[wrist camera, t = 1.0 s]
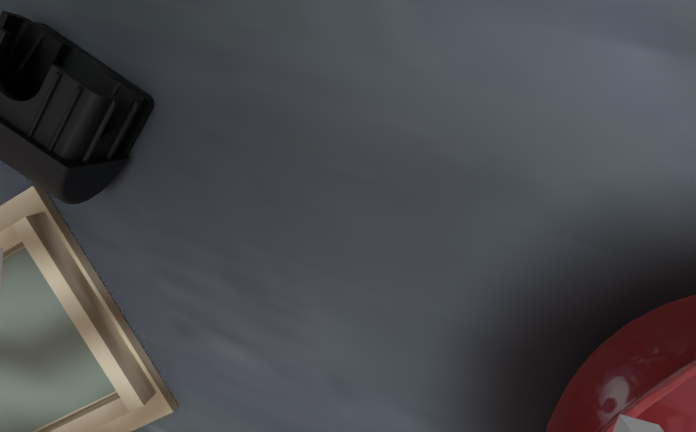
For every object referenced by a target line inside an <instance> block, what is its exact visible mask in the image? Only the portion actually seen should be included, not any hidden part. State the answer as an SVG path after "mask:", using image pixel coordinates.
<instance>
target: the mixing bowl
mask: <svg viewBox="0 0 696 432" xmlns="http://www.w3.org/2000/svg"><path fill="white" fill-rule="evenodd" d="M620 414H621V415H625V416H628V417H632V418H636V419H639V420H643V421H647V422H650V423H654V424H658V425H660V427H661V428H662V429H663V431H664V432H696V294H695V295H691V296H688V297H685V298H682V299H678V300H675V301H672V302H669V303H667V304H664V305H662V306H660V307H657V308H655V309H653V310H651V311H649V312H648V313H646V314H644V315H642V316H640V317H638V318H636V319H634V320H633V321H631V322H629V323H628V324H626V325H624V326H623V327H621V328H620V329H619V330H618V331H617V332H615V333H614V334H613V335H612V336H611V337H609V338H608V339H607V340H606V341H604V342H603V343H602V344H601V345H599V346H598V347H597V348H596V350H595V351H594V352H593V353H592V354H591V355H590V356H589V357H588V358H587V360H586V361H585V362H584V363H583V364H582V366H581V367H580V368H579V369H578V371H577V372H576V373H575V375H574V376H573V377H572V379H571V380H570V382H569V383H568V385H567V387H566V389H565V391H564V392H563V394H562V396H561V398H560V400H559V402H558V404H557V406H556V408H555V410H554V412H553V414H552V416H551V418H550V420H549V422H548V425H547V428H546V431H545V432H613V429H614V427H615V424H616V422H617V420H618V417H619V415H620Z"/></svg>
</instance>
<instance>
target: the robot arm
mask: <svg viewBox="0 0 696 432" xmlns="http://www.w3.org/2000/svg"><path fill="white" fill-rule="evenodd" d="M3 249H4V248H2V247H0V293H1V278H2V264H3ZM613 432H664V431H663V429H662V428H661V427H660V425H658V424H654V423H650V422H647V421H643V420H639V419H636V418H632V417H628V416H625V415H621V414H620V415H619V417H618V420H617V422H616V424H615V427H614V429H613Z"/></svg>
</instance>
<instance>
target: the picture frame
mask: <svg viewBox="0 0 696 432" xmlns="http://www.w3.org/2000/svg"><path fill="white" fill-rule="evenodd" d="M0 247H2V248H4V249H3V264H2V278H1V293H0V432H131V431H133V430H135V429H138V428H140V427H142V426H144V425H146V424H148V423H151V422H153V421H155V420H157V419H159V418H161V417H164V416H166V415H168V414H170V413H172V412H174V411H175V409H176V408H177V407H178V404H177V403H176V401H175V399H174V398H173V396H172V395H171V393H170V391H169V390H168V388H167V386H166V385H165V383H164V382H163V380H162V378H161V377H160V375H159V373H158V372H157V370H156V369H155V367H154V365H153V364H152V362H151V361H150V359H149V357H148V356H147V354H146V352H145V351H144V349H143V348H142V346H141V344H140V343H139V341H138V340H137V338H136V336H135V335H134V333H133V331H132V330H131V328H130V327H129V325H128V323H127V322H126V320H125V318H124V317H123V315H122V314H121V312H120V310H119V309H118V307H117V306H116V304H115V302H114V301H113V299H112V297H111V296H110V294H109V293H108V291H107V289H106V288H105V286H104V285H103V283H102V281H101V280H100V278H99V276H98V275H97V273H96V272H95V270H94V268H93V267H92V265H91V263H90V262H89V260H88V259H87V257H86V255H85V254H84V252H83V251H82V249H81V247H80V246H79V244H78V242H77V241H76V239H75V238H74V236H73V234H72V233H71V231H70V230H69V228H68V226H67V225H66V223H65V221H64V220H63V218H62V217H61V215H60V213H59V212H58V210H57V208H56V207H55V205H54V204H53V202H52V200H51V199H50V197H49V196H48V194H47V192H46V191H45V190H44V189H43V188H41V187H40V186H38V185H35V186H32V187H30V188H29V189H27V190H25V191H24V192H22V193H21V194H19V195H17V196H16V197H14V198H12V199H11V200H9V201H8V202H6V203H4V204H3V205H1V206H0Z"/></svg>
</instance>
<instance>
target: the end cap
mask: <svg viewBox="0 0 696 432" xmlns="http://www.w3.org/2000/svg"><path fill="white" fill-rule="evenodd" d="M153 107H154V101H153V98H152V97H151V96H150V95H148V94H147V93H145V92H144V91H143V90H141V89H140V88H138V87H137V86H135V85H134V84H132V83H131V82H129V81H128V80H126V79H125V78H123V77H122V76H121V75H119V74H118V73H116V72H115V71H113V70H112V69H110V68H109V67H107V66H106V65H104V64H103V63H101V62H100V61H98V60H97V59H96V58H94V57H93V56H91V55H90V54H88V53H87V52H85V51H84V50H82V49H81V48H79V47H78V46H76V45H75V44H73V43H72V42H71V41H69V40H68V39H66V38H65V37H63V36H62V35H60V34H59V33H57V32H56V31H54V30H53V29H51V28H50V27H48V26H47V25H45V24H42V23H38V22H35V23H34V22H32V21H31V20H29V19H27V18H25V17H23V16H20V15H17V14H13V13H9V12H5V11H2V13H1V15H0V160H2V161H3V162H4V163H6V164H7V165H9V166H10V167H12V168H13V169H15V170H16V171H18V172H19V173H21V174H22V175H24V176H25V177H27V178H28V179H30V180H31V181H33V182H34V183H35V184H37V185H38V186H40V187H41V188H43V189H44V190H46V191H47V192H49V193H50V194H52V195H53V196H55V197H56V198H58V199H59V200H61V201H62V202H64V203H67V204H78V203H81V202H84V201H87V200H89V199H90V198H92V197H94V196H95V195H97V194H98V193H99V192H101V191H102V190H103V189H104V188H105V187H107V186H108V185H109V184H110V183H111V182H112V181H113V180H114V178H115V177H116V176H117V175H118V174H119V172H120V171H121V170H122V168H123V167H124V165H125V164H126V162H127V160H128V159H129V157H128V156H127V155H128V153H129V152H130V150H131V149H132V147H133V145H134V143H135V141H136V139H137V137H138V136H139V134H140V132H141V130H142V128H143V126H144V125H145V123H146V121H147V119H148V117H149V115H150V113H151V112H152V110H153Z"/></svg>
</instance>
